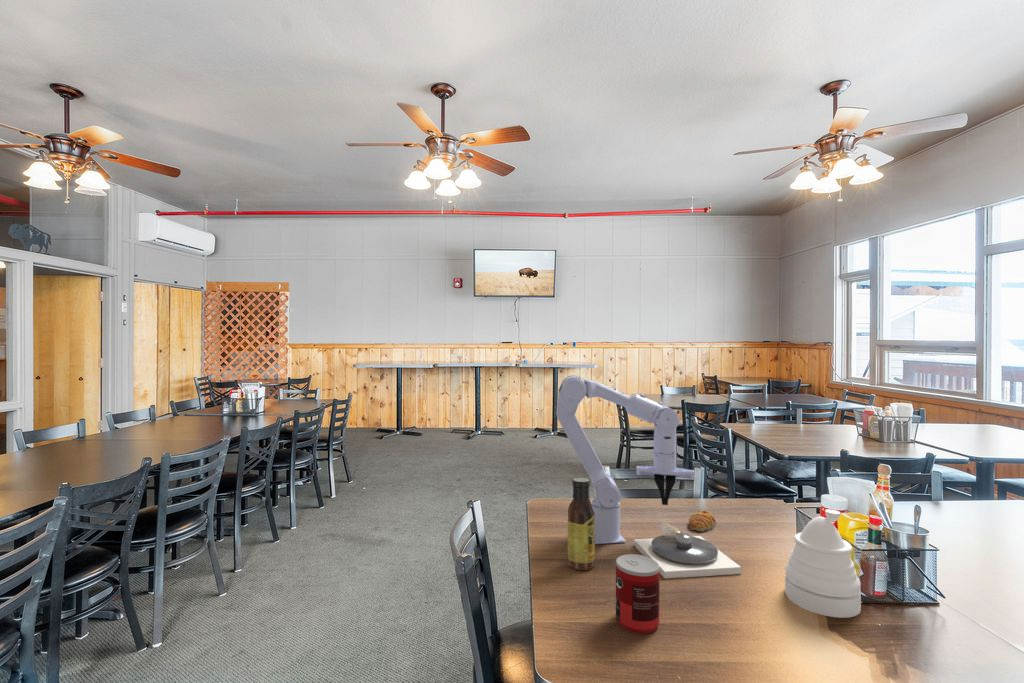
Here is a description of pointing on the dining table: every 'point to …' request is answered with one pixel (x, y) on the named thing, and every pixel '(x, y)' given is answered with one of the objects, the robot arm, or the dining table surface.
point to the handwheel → (683, 547)
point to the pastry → (702, 521)
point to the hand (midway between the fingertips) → (664, 503)
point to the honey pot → (823, 571)
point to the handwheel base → (679, 570)
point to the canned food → (637, 593)
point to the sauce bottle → (581, 527)
